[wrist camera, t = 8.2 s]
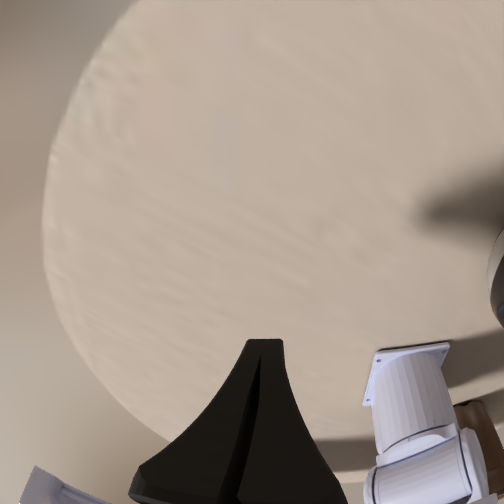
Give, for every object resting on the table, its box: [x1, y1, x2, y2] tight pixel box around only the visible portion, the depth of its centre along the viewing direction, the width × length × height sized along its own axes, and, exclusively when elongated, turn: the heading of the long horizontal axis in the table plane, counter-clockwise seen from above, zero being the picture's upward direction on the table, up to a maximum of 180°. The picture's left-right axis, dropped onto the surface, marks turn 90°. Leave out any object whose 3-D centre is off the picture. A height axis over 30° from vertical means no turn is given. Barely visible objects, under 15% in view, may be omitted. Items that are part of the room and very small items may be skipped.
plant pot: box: [453, 401, 504, 500], centre depth 26 cm, size 16×16×16 cm
